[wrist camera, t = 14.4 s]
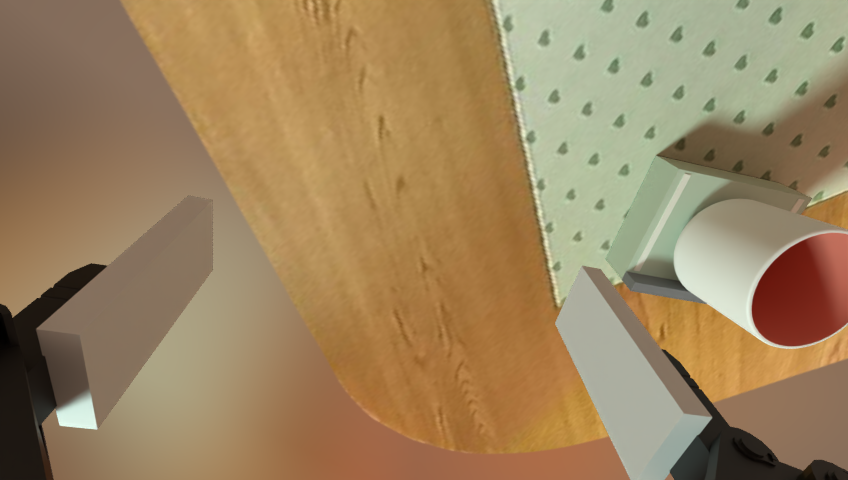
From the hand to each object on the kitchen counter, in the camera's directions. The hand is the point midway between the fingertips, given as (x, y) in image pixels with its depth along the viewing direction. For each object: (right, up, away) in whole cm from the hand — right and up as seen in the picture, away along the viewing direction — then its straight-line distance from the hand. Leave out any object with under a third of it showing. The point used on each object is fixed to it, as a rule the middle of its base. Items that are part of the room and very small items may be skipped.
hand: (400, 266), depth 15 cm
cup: (+29, 0, +26) cm, 39 cm away
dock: (+29, +3, +30) cm, 42 cm away
